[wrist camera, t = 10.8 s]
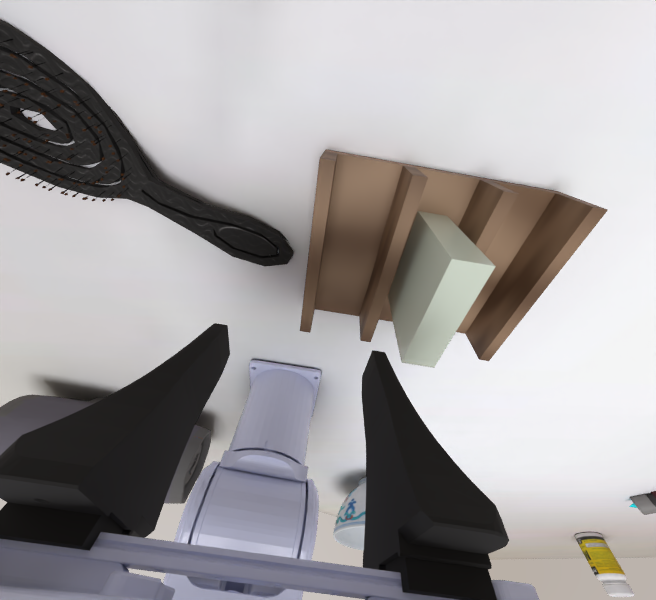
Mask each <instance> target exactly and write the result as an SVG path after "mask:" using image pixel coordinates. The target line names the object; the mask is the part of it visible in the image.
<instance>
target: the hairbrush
mask: <svg viewBox="0 0 656 600" xmlns="http://www.w3.org/2000/svg"><path fill="white" fill-rule="evenodd" d="M2 46H3V47H2ZM4 47H5V48H4ZM6 48H7V49H6ZM9 49H10V50H9ZM11 50H12V51H11ZM13 51H15V52H17V53H15V52H13ZM19 54H22V55H21V56H20V55H19ZM23 55H24V56H25V57H27V58H28V59H29V60H31V61H32V62H34V63H35V64H34V63H32V62H31V61H29V60H27V59H25V58H24V57H22V56H23ZM36 64H37V65H36ZM0 69H3V70H6V71H9V72H12V73H14V74H17V75H20V77H21V76H23V77H25V78H27V79H29V80H30V81H32V82H30V81H28V80H26V79H24V78H20V77H17V76H16V75H15V76H14V75H11V73H10V74H8V72H7V73H5V72H2V71H3V70H2V71H0V88H8V89H9V90H13V91H15V92H17V93H15V92H8V91H7V90H3V91H0V163H2V164H5V165H7V166H10V167H12V168H14V169H15V170H16V169H17V170H19V171H22V172H24V173H25V174H29V175H30V176H34V177H36V178H38V179H41V180H43V181H46V182H48V183H49V184H53V185H55V186H58V187H61V188H64V189H67V190H72V191H76V192H78V193H83V194H87V195H90V196H94V197H100V198H112V199H111V201H113V200H114V199H113V198H123V199H129V200H132V201H134V202H137V203H140V204H142V205H145V206H147V207H149V208H151V209H153V210H155V211H156V212H158V213H160V214H162V215H163V216H165V217H167V218H169V219H170V220H172V221H174V222H176V223H178V224H179V225H181V226H183V227H185V228H186V229H188V230H190V231H192V232H193V233H195V234H197V235H198V236H200V237H202V238H203V239H205V240H207V241H208V242H210V243H212V244H213V245H215V246H216V247H218V248H220V249H221V250H223V251H225V252H226V253H228V254H229V255H231V256H233V257H236V258H239V259H242V260H246V261H249V262H252V263H256V264H259V265H262V266H273V265H283V264H287V263H288V262H289V260H290V259H291V257H292V256H293V250H292V248H291V247H290V246H289V245H288V243H287V242H286V241H285V240H284V239H283V238H285V237H284V236H283V235H282V234H281V233H280V232H279V231H277V230H275V229H273V228H271V227H269V226H267V225H265V224H263V223H261V222H259V221H257V220H255V219H253V218H251V217H248V216H245V215H242V214H238V213H235V212H232V211H228V210H225V209H221V208H218V207H215V206H211V205H208V204H206V203H204V202H202V201H200V200H198V199H196V198H194V197H192V196H190V195H188V194H186V193H184V192H182V191H180V190H178V189H176V188H174V187H172V186H170V185H168V184H166V183H164V182H162V181H160V180H159V179H158V178H157V176H156V175H155V173H154V172H153V170H152V169H151V167H150V166H149V164H148V163H147V161H146V160H145V158H144V156H143V155H142V153H141V152H140V150H139V149H138V147H137V145H136V144H135V142H134V140H133V139H132V137H131V135H130V134H129V132H128V130H127V129H126V127H125V126H124V124H123V123H122V121H121V120H120V118H119V117H118V116H117V114H116V113H115V112H114V111H113V110H112V109H111V108H110V107H108V106H107V104H106V103H105V102H104V100H103V99H102V98H101V97H100V95H99V94H98V93H97V92H96V91H95V90H94V89H93V88H92V87H91V86H90V85H89V84H87V83H86V82H85V81H84V80H83V79H82V78H81V77H80V76H78V75H77V74H76V73H75V72H74V71H73V70H72V69H71V68H70V67H68V66H67V65H66V64H65V63H64V62H63V61H61V60H60V59H59V58H58V57H56V56H55V55H54V54H53V53H51V52H50V51H49V50H48V49H46V48H45V47H43V46H42V45H40V44H39V43H37V42H36V41H34V40H33V39H31V38H30V37H28V36H27V35H25V34H24V33H23V32H21V31H19V30H18V29H16V28H14V27H13V26H11V25H10V24H8V23H6V22H4V21H2V20H0ZM59 80H60V81H59ZM62 82H63V83H62ZM34 83H35V84H34ZM37 85H38V86H37ZM66 85H67V86H66ZM39 86H40V87H39ZM69 87H70V88H71V89H73V90H74V91H75V92H76V93H77V94H78V95H77V94H76V93H75V92H74V91H72V90H71V89H70V88H69ZM20 94H22V95H20ZM23 95H24V96H23ZM28 97H29V98H28ZM72 107H73V108H74V109H73V108H72ZM20 108H22V109H24V110H30V111H34V112H39V113H40V114H42V115H43V116H44V117H45V118H46V119H47V120H48V121H49V122H50V123H51V124H52V125H53V126H54V127H55V128H56V129H57V130H56V131H53V130H50V129H46V128H42V127H38V126H37V125H35V124H34V123H37V121H34V122H33V123H32V122H31V121H29V120H32V118H31V117H28V119H27V118H25V117H23V116H24V115H23V114H22V113H21V112H22V111H24V110H21V111H20ZM109 108H110V109H111V110H112V111H113V112H114V113H115V114H116V116H117V117H118V118H119V120H120V122H121V123H122V125H123V127H124V128H125V129H124V128H123V127H122V125H121V124H120V123H119V121H118V120H117V118H116V117H115V116H114V114H113V113H112V111H111V110H110V109H109ZM18 110H19V111H18ZM20 113H21V114H22V115H23V116H22V115H20ZM40 114H38V115H40ZM36 116H37V115H36ZM34 117H35V116H34ZM38 121H39V120H38ZM125 130H126V131H125ZM42 139H43V140H42ZM73 139H74V141H75V143H74V144H71V145H68V146H63V145H55V144H52V143H50V142H48V141H52V142H56V143H60V144H64V143H70V142H71V141H72V140H73ZM45 140H46V141H45ZM48 155H49V156H48ZM53 157H54V158H53ZM58 159H60V160H58ZM61 160H63V161H66V162H69V163H72V164H69V163H66V162H63V161H61ZM103 160H104V161H103ZM100 161H102V162H101V163H99V164H98V165H96V166H95V167H92V168H85V167H81V166H80V165H89V164H94V163H97V162H100ZM73 164H75V165H73ZM77 165H78V166H77ZM13 171H14V170H13ZM9 174H10V173H9V172H8V173H6V175H9ZM25 174H23V175H25ZM23 175H21V176H20V177H22V176H23ZM63 175H64V176H63ZM66 176H67V177H66ZM20 177H17V178H15V179H19V178H20ZM28 177H29V176H28ZM69 177H70V178H69ZM72 178H74V179H72ZM121 178H122V180H121V183H119V184H116V185H114V186H112V185H108V186H104V185H98V184H95V183H100V184H111V183H114V182H118V181H117V180H119V179H121ZM75 179H77V180H75ZM79 180H80V181H79ZM21 181H25V179H21ZM43 181H42V182H43ZM82 181H84V182H82ZM40 183H41V182H40ZM40 183H38V184H35V185H36V186H38V185H39V184H40ZM49 184H48V185H49ZM55 186H54V187H55ZM109 186H110V187H109ZM54 187H52V188H54ZM42 188H46V187H45V186H43V187H42ZM52 188H50V189H49V190H48V191H50V190H52ZM67 190H65V191H67ZM65 191H62V192H61V194H64V192H65ZM78 193H77V194H78ZM77 194H75V195H73V196H72V197H75V196H76V195H77ZM64 195H68V194H67V193H65V194H64ZM86 199H88V198H87V197H85V198H83V200H86ZM95 200H96V199H93V200H92V201H95ZM102 201H103V202H104V201H106V200H105V199H103V200H102ZM281 236H282V237H283V238H282V237H281ZM285 239H286V238H285ZM286 240H287V239H286ZM287 241H288V240H287ZM277 246H278V247H279V253H278V254H277ZM269 255H271V256H269Z"/></svg>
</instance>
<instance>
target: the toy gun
mask: <svg viewBox="0 0 656 600" xmlns="http://www.w3.org/2000/svg"><path fill="white" fill-rule="evenodd" d="M630 498H631V500H632V501H633V504H632V505H631V506H629V507H635V508H638V509H639V510H640V511H641V512H642V513H643V514H644V515H647V514H653V513H656V491H654V492H651V494H642V495H637V496H632V497H630Z"/></svg>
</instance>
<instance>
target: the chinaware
mask: <svg viewBox="0 0 656 600" xmlns="http://www.w3.org/2000/svg"><path fill="white" fill-rule="evenodd" d="M365 509H366V477H365V478H362V479H361V480H360V481H359V486H358V487H357V488H356V489H354V490H353V491H352V492H351V493H350V494H349V495H348V496H347V498H346V499H345V501H344V502H343V504H342V506H341V508H340V511H339V513H338V516H337V520H336V524H335V528H334V534H333V537H334V539H335V540H336V541H337V542H339V543H340V544H342V545H345V546H347V547H350V548H354V549H358V550H363V551H364V534H365Z"/></svg>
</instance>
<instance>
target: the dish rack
mask: <svg viewBox="0 0 656 600" xmlns="http://www.w3.org/2000/svg"><path fill="white" fill-rule="evenodd" d="M418 211H421V212H427V213H433V214H439V215H444V216H448V217H449V218H450V219H451V220H452V221H453V222H454V223H455V225H456V226H457V227H458V228H459V229H460V230H461V231H462V232H463V233H464V234H465V235H466V236H467V237H468V238H469V239H470V240H471V241H472V242H473V243H474V244H475V245H476V246H477V247H478V248H479V250H480V251H481V252H482V253H483V254H484V255H485V256H486V257H487V258H488V259H489V260H490V261H491V262H492V263H493V264H494V265H495V266H496V267H495V268H494V270H493V272H492V273H491V275H490V277H489V278H488V280H487V282H486V283H485V285H484V286H483V288H482V290H481V291H480V293H479V295H478V296H477V298H476V300H475V301H474V303H473V304H472V306H471V308H470V309H469V311H468V313H467V314H466V316H465V318H464V319H463V321H462V323H461V324H460V326H459V327H458V329H457V331H456V332H460V333H465V334H466V335H467V337H468V339H469V341H470V343H471V345H472V347H473V349H474V351H475V353H476V354H477V356H478V358H479V359H480V360H486V361H489V360H490V359H491V358H492V356H493V355H494V354H495V353H496V351H497V350H498V349H499V347H500V346H501V345H502V344H503V342H504V341H505V340H506V339H507V337H508V336H509V335H510V333H511V332H512V331H513V330H514V328H515V327H516V326H517V325H518V323H519V322H520V321H521V320H522V318H523V317H524V316H525V314H526V313H527V312H528V311H529V309H530V308H531V307H532V306H533V304H534V303H535V302H536V300H537V299H538V298H539V297H540V295H541V294H542V293H543V292H544V290H545V289H546V288H547V287H548V285H549V284H550V283H551V281H552V280H553V279H554V278H555V276H556V275H557V274H558V273H559V271H560V270H561V269H562V267H563V266H564V265H565V264H566V262H567V261H568V260H569V259H570V257H571V256H572V255H573V253H574V252H575V251H576V250H577V248H578V247H579V246H580V245H581V243H582V242H583V241H584V240H585V238H586V237H587V236H588V234H589V233H590V232H591V231H592V229H593V228H594V227H595V226H596V224H597V223H598V222H599V220H600V219H601V218H602V217H603V215H604V214H605V213H606V212H607V209H604V208H601V207H599V206H596V205H593V204H591V203H588V202H585V201H582V200H580V199H577V198H574V197H572V196H569V195H566V194H563V193H561V192H558V191H553V190H547V189H542V188H536V187H531V186H525V185H519V184H514V183H508V182H503V181H497V180H492V179H486V178H481V177H475V176H470V175H464V174H459V173H453V172H448V171H442V170H437V169H431V168H425V167H420V166H414V165H409V164H403V163H398V162H392V161H387V160H381V159H376V158H370V157H365V156H359V155H354V154H348V153H342V152H337V151H331V150H325V151H324V153H323V154H322V156H321V157H320V160H319V169H318V178H317V186H316V195H315V204H314V213H313V221H312V230H311V239H310V248H309V256H308V265H307V274H306V282H305V291H304V300H303V309H302V317H301V326H300V331H304V332H310V330H311V325H312V320H313V314H314V309H318V310H324V311H330V312H336V313H343V314H349V315H355V316H359V318H360V340H361V341H367V342H371V339H372V336H373V334H374V331H375V328H376V325H377V322H378V319H380V320H386V321H392V322H393V319H392V314H391V309H390V304H389V299H388V294H389V291H390V289H391V286H392V283H393V280H394V277H395V274H396V272H397V269H398V266H399V263H400V260H401V257H402V255H403V252H404V249H405V246H406V243H407V240H408V238H409V235H410V232H411V229H412V226H413V223H414V221H415V218H416V215H417V212H418Z"/></svg>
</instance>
